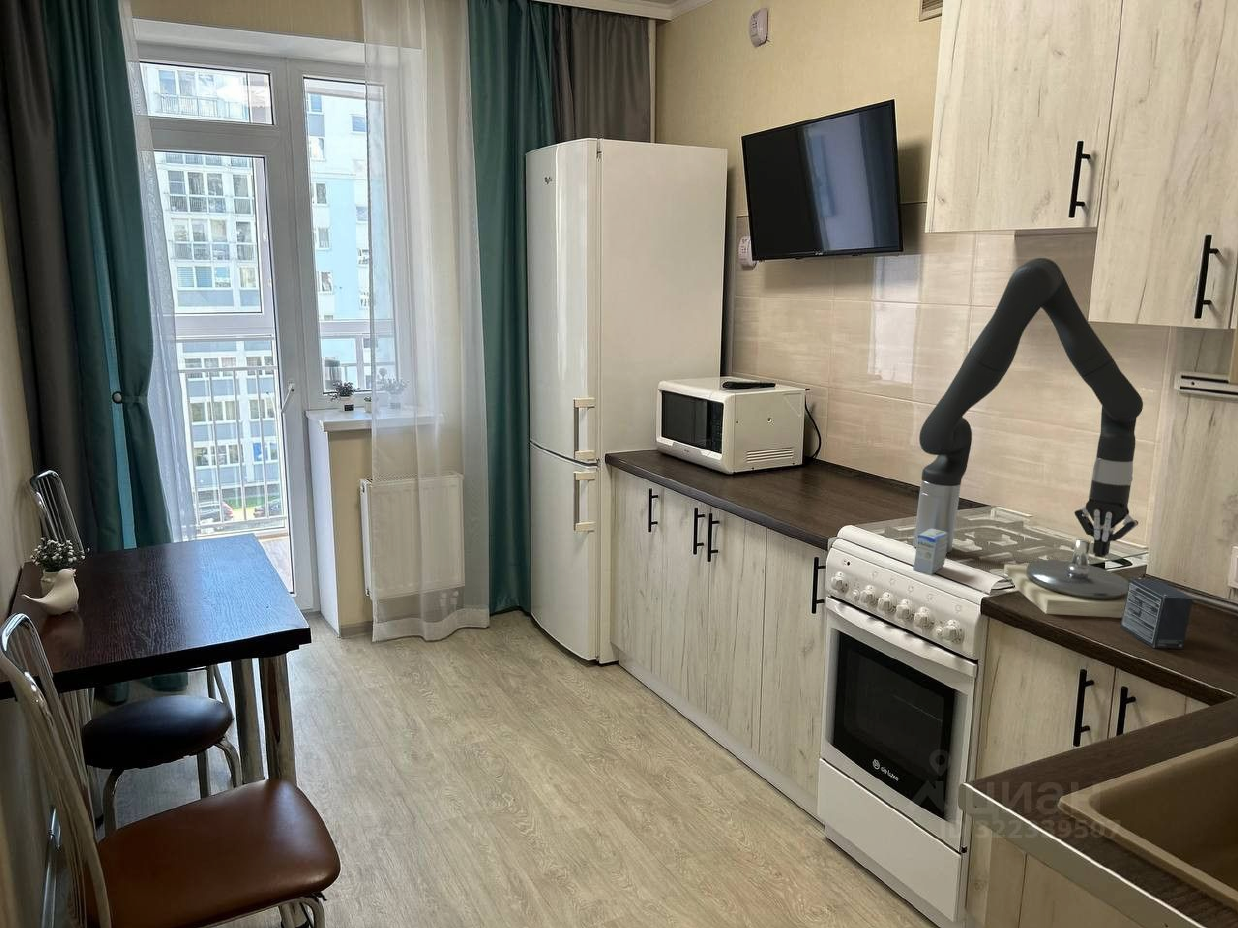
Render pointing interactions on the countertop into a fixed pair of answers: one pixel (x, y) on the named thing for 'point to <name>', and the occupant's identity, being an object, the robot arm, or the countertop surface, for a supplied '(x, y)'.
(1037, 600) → the wheel base
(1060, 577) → the handwheel
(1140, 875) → the countertop surface
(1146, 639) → the small box
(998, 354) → the robot arm
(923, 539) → the medicine box
